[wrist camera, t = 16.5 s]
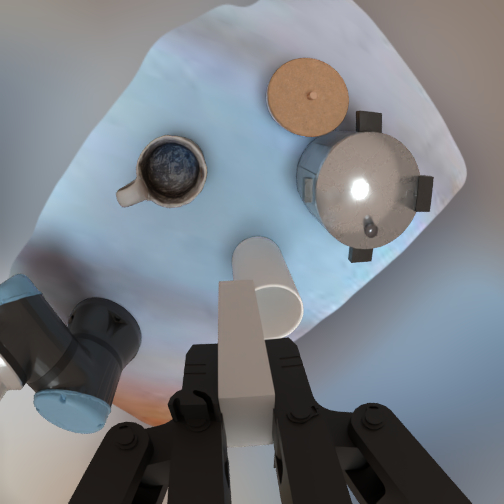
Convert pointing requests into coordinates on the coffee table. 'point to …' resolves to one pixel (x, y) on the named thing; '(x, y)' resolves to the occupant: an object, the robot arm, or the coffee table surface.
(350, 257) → the pot
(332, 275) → the coffee table surface
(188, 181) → the mug
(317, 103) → the lidded jar
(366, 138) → the lid
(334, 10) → the coffee table surface
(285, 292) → the cup
